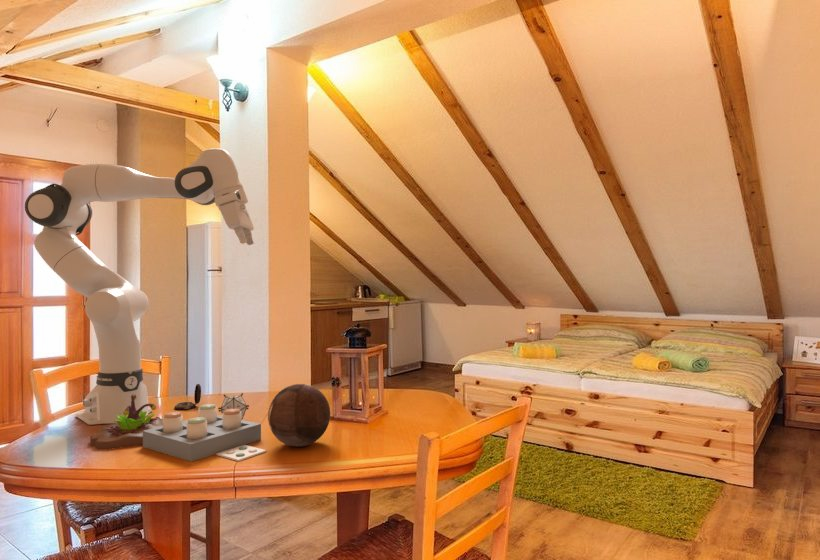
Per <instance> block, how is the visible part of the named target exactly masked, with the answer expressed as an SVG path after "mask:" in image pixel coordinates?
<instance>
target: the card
mask: <svg viewBox="0 0 820 560" xmlns="http://www.w3.org/2000/svg"><path fill="white" fill-rule="evenodd" d="M264 453H267V449H263V448H260V447H255V446H251V445H248V444H245V445H242V446H239V447H236V448H232V449H229V450H226V451H223V452H220V453H217V454H216V456H218V457H222V458H225V459H228V460H232V461H235V462H241V461H244V460H247V459H250V458H253V457H256V456H258V455H261V454H264Z"/></svg>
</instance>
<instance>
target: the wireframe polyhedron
mask: <svg viewBox="0 0 820 560" xmlns="http://www.w3.org/2000/svg"><path fill="white" fill-rule="evenodd" d="M243 396H244V393H243V392H242V393H241V394H240V395H227V394H223V398H224V399H223V401H222V403H221V406H220V407H217V410H218V412H219V413H221V414H222V413H224V412H223V411H224V410H227V409H240V411H241V420H244V416H245V413H246V410H249V407H250V405H249V404H246V402H245V399H244V398H243Z"/></svg>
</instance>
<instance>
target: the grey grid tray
mask: <svg viewBox="0 0 820 560" xmlns="http://www.w3.org/2000/svg"><path fill="white" fill-rule="evenodd" d="M197 417H198V416H197ZM197 417H195V418H197ZM189 419H190V418H188V419H185V420H184V419H183V430H182V431H178V432H174V433H170V434H167V433H164V432H163V426H160V427H156V428H152V429H148V430H144V431H143V445H142V448H145V449H149V450H151V451H154V452H158V453H161V454H165V455H167V454H168V456H171V457H174V458H177V459H180V458H181V459H180V460H184V461H188V462H195V461H198V460H201V459H204V458H206V457H207V458H208V457H210V456H213V455H217V453H220V452H223V451H226V450H229V449H232V448H236V447H239V446H242V445H248V444H252V443H254V442H258V441H261V440H262V424H261V423H259V422H253V421H249V420H244V419H242V420H241V422H242V427H239V428H236V429H232V430H227V429H223V426H222V414H217V421H216V422H212V423H208V424H207V437H204V438H201V439H197V440H194V441H193V440H189V439H187V424H186V423H187V422H188V420H189Z"/></svg>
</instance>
